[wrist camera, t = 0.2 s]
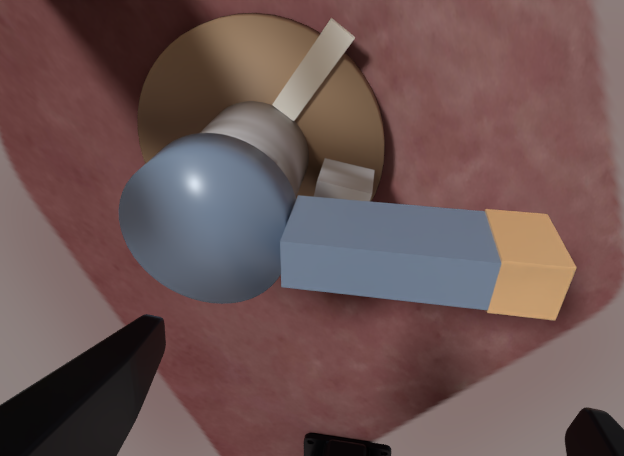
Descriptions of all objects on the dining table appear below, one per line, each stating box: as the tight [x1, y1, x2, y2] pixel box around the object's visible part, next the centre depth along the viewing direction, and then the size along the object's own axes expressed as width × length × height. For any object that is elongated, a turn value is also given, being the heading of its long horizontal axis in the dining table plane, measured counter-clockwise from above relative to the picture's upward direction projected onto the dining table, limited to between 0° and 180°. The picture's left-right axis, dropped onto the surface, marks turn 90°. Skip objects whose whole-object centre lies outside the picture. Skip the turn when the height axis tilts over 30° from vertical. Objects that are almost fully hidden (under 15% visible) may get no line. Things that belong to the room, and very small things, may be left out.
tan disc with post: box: [138, 13, 385, 202], centre depth 20 cm, size 12×12×6 cm
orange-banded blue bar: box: [119, 133, 576, 320], centre depth 16 cm, size 14×6×3 cm, turn 89°
